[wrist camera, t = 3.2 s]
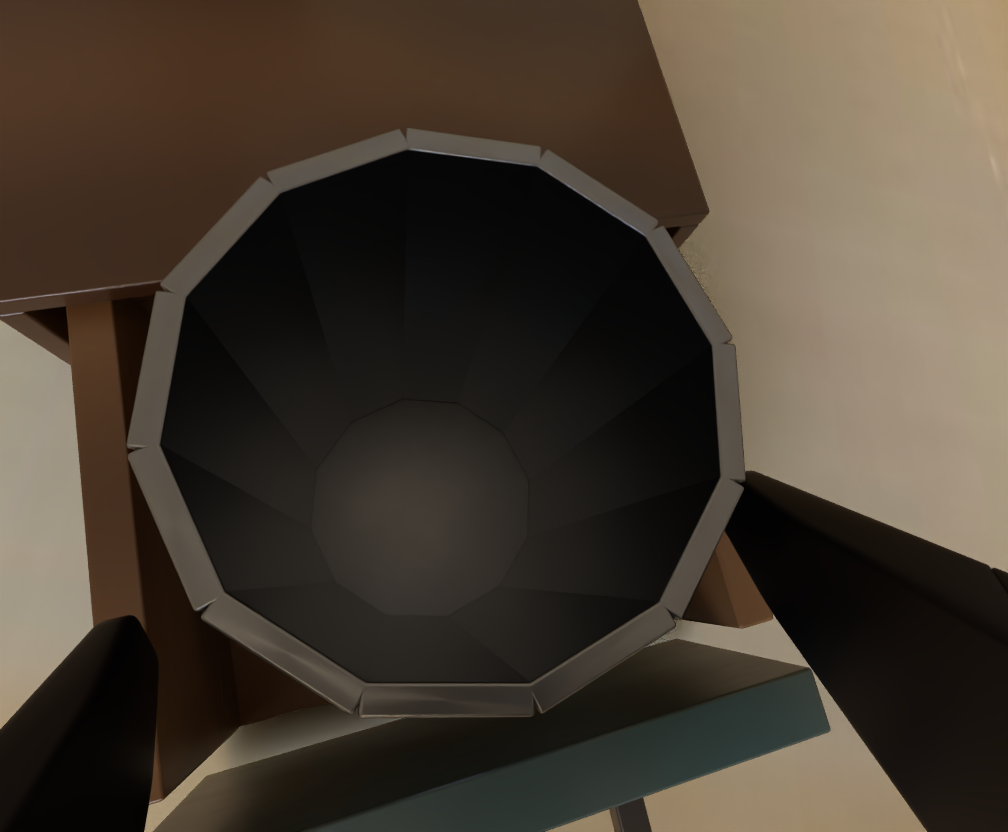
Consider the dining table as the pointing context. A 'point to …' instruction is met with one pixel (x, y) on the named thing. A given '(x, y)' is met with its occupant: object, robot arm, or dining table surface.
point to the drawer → (409, 741)
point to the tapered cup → (438, 426)
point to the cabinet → (289, 118)
